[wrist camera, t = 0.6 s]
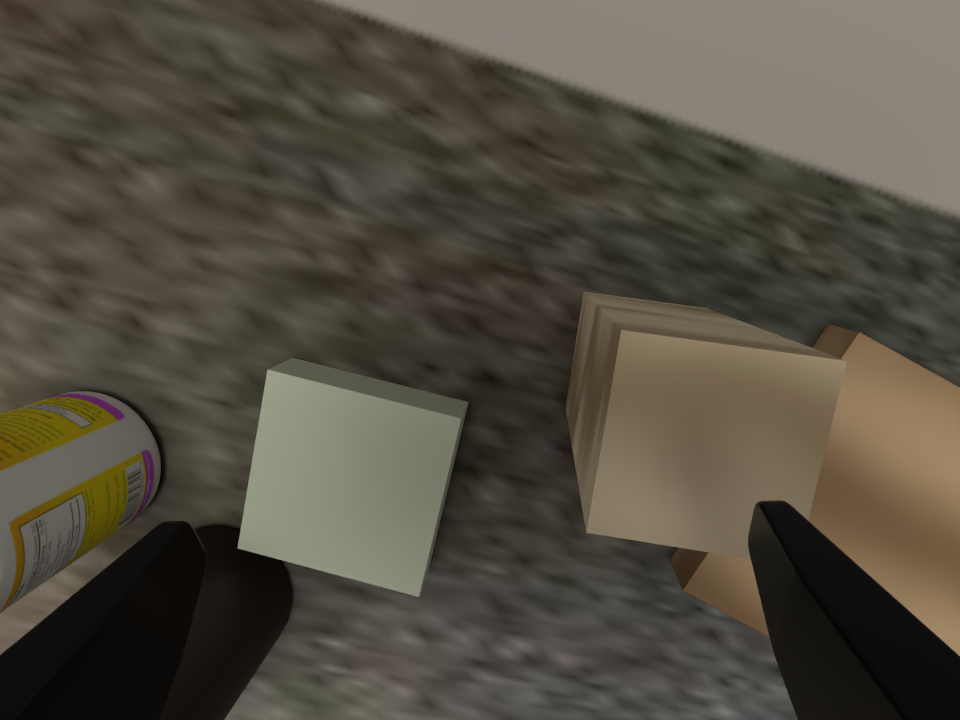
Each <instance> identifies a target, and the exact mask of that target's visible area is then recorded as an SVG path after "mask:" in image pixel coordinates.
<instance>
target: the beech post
mask: <svg viewBox="0 0 960 720" xmlns="http://www.w3.org/2000/svg"><path fill="white" fill-rule="evenodd" d="M846 364H847V361H846V360H843V359H840V358H838V357H835V356H832V355H830V354H827V353H824V352H822V351H819V350H816V349H814V348H811V347H808V346H806V345H803V344H800V343H798V342H795V341H792V340H790V339H787V338H784V337H782V336H779V335H777V334H774V333H771V332H769V331H766V330H763V329H761V328H758V327H755V326H753V325H750V324H747V323H745V322H742V321H739V320H737V319H734V318H731V317H729V316H726V315H723V314H721V313H718V312H716V311H713V310H710V309H708V308H703V307H696V306H688V305H681V304H673V303H666V302H658V301H651V300H644V299H636V298H629V297H621V296H614V295H606V294H599V293H591V292H584V293H583V299H582V306H581V312H580V318H579V325H578V331H577V337H576V344H575V350H574V356H573V362H572V369H571V375H570V381H569V388H568V394H567V400H566V407H565V408H566V414H567V420H568V426H569V432H570V438H571V444H572V450H573V456H574V462H575V468H576V474H577V480H578V486H579V492H580V498H581V504H582V510H583V516H584V522H585V528H586V533H591V534H597V535H603V536H609V537H616V538H622V539H628V540H635V541H641V542H647V543H653V544H660V545H666V546H672V547H679V548H685V549H691V550H697V551H704V552H710V553H716V554H722V555H729V556H735V557H741V558H748V559H751V558H750V554H749V549H748V534H749V529H750V525H751V520H752V515H753V510H754V507H755V505H756V503H757V502H759V501H773V500H782V501H785V502H787V503H789V504H790V505H791V506H793V507H794V508H795V509H796V510H797V511H798V512H799V513H800V514H801V515H803V516H804V517H805V518H806V519H807V520H808V519H809V515H810V511H811V507H812V503H813V499H814V495H815V491H816V487H817V483H818V479H819V474H820V470H821V466H822V462H823V458H824V454H825V450H826V446H827V442H828V438H829V433H830V429H831V425H832V421H833V417H834V413H835V409H836V405H837V401H838V397H839V392H840V388H841V384H842V380H843V376H844V372H845V368H846Z"/></svg>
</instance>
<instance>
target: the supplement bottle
mask: <svg viewBox="0 0 960 720" xmlns="http://www.w3.org/2000/svg"><path fill="white" fill-rule="evenodd" d="M160 474H161V461H160V454H159V449H158V446H157V443H156V441H155V439H154V436H153V435H152V433H151V431H150V429H149V428H148V426H147V425H146V423H145V422H144V421H143V420H142V419H141V417H140V416H139V415H138V414H137V413H136V412H135V411H134V410H132V409H131V408H130V407H129V406H127V405H126V404H124V403H122V402H121V401H119V400H117V399H115V398H113V397H110V396H108V395H105V394H101V393H96V392H89V391H77V392H68V393H63V394H60V395H57V396H53V397H50V398H47V399H44V400H41V401H38V402H34V403H31V404H28V405H25V406H22V407H19V408H16V409H13V410H10V411H7V412H4V413H0V613H1V612H2V611H4V610H5V609H7V608H8V607H9V606H11V605H12V604H14V603H15V602H16V601H18V600H19V599H21V598H22V597H24V596H25V595H27V594H28V593H30V592H31V591H32V590H34V589H35V588H37V587H38V586H39V585H41V584H42V583H44V582H46V581H47V580H48V579H50V578H51V577H53V576H54V575H55V574H57V573H59V572H60V571H61V570H63V569H64V568H66V567H67V566H69V565H70V564H71V563H73V562H74V561H76V560H77V559H79V558H80V557H81V556H83V555H84V554H86V553H87V552H89V551H90V550H92V549H93V548H95V547H96V546H97V545H99V544H100V543H102V542H103V541H105V540H106V539H107V538H109V537H110V536H112V535H113V534H115V533H116V532H118V531H119V530H120V529H122V528H123V527H124V526H126V525H127V524H129V523H130V522H131V521H132V520H134V519H135V518H136V517H137V516H139V515H140V514H141V513H142V512H143V511H144V510H145V509H146V508H147V506H148V505H149V503H150V502H151V501H152V499H153V497H154V495H155V493H156V491H157V488H158V485H159V481H160Z"/></svg>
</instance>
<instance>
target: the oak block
mask: <svg viewBox="0 0 960 720" xmlns="http://www.w3.org/2000/svg"><path fill="white" fill-rule="evenodd" d="M812 348H814V349H816V350H819V351H822V352H824V353H827V354H830V355H832V356H835V357H838V358H840V359H843V360H846V361H847V364H846V368H845V372H844V376H843V380H842V384H841V388H840V392H839V397H838V401H837V405H836V409H835V413H834V417H833V421H832V425H831V429H830V433H829V438H828V442H827V446H826V450H825V454H824V458H823V462H822V466H821V470H820V474H819V479H818V483H817V487H816V491H815V495H814V499H813V503H812V507H811V511H810V515H809V519H808V521H809V522H810V523H812V524H813V525H814V526H815V527H816V528H817V529H818V530H819V531H821V532H822V533H823V534H824V535H825V536H826V537H827V538H828V539H829V540H831V541H832V542H833V543H834V544H835V545H836V546H837V547H838V548H840V549H841V550H842V551H843V552H844V553H845V554H846V555H847V556H848V557H850V558H851V559H852V560H853V561H854V562H855V563H856V564H857V565H859V566H860V567H861V568H862V569H863V570H864V571H865V572H866V573H868V574H869V575H870V576H871V577H872V578H873V579H874V580H875V581H876V582H878V583H879V584H880V585H881V586H882V587H883V588H884V589H885V590H887V591H888V592H889V593H890V594H891V595H892V596H893V597H894V598H895V599H897V600H898V601H899V602H900V603H901V604H902V605H903V606H904V607H906V608H907V609H908V610H909V611H910V612H911V613H912V614H913V615H915V616H916V617H917V618H918V619H919V620H920V621H921V622H922V623H923V624H925V625H926V626H927V627H928V628H929V629H930V630H931V631H932V632H934V633H935V634H936V635H937V636H938V637H939V638H940V639H941V640H942V641H944V642H945V643H946V644H947V645H948V646H949V647H950V648H951V649H953V650H954V651H955V652H956V653H957V654H958V655H959V656H960V387H958V386H956V385H954V384H952V383H951V382H949V381H947V380H945V379H943V378H941V377H940V376H938V375H936V374H934V373H932V372H931V371H929V370H927V369H925V368H923V367H922V366H920V365H918V364H916V363H914V362H912V361H911V360H909V359H907V358H905V357H903V356H902V355H900V354H898V353H896V352H894V351H892V350H891V349H889V348H887V347H885V346H883V345H882V344H880V343H878V342H876V341H874V340H873V339H871V338H869V337H867V336H865V335H863V334H862V333H860V332H857V331H853V330H849V329H846V328H842V327H838V326H835V325H831V324H828V325H827V327H826V328H825V330H824V331H823V333H822V334H821V335H820V337H819V338H818V340H817V341H816V343H815V344H814V346H813V347H812ZM670 561H671V563H672V566H673V568H674V570H675V573H676V575H677V577H678V580H679V582H680V585H681V587H682V589H683V591H685V592H687V593H689V594H691V595H692V596H694V597H696V598H698V599H700V600H702V601H703V602H705V603H707V604H709V605H711V606H713V607H714V608H716V609H718V610H720V611H722V612H723V613H725V614H727V615H729V616H731V617H733V618H734V619H736V620H738V621H740V622H742V623H744V624H745V625H747V626H749V627H751V628H753V629H755V630H756V631H758V632H760V633H762V634H764V635H766V636H767V637H769V633H768V629H767V625H766V620H765V616H764V612H763V608H762V604H761V600H760V596H759V591H758V587H757V583H756V579H755V575H754V571H753V566H752V562H751V559H748V558H741V557H735V556H729V555H722V554H716V553H710V552H704V551H697V550H691V549H685V548H679V547H678V549H677V550H676V552H675V553H674V555H673V556H672V558H671V559H670ZM769 638H770V637H769Z"/></svg>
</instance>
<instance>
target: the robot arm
mask: <svg viewBox="0 0 960 720" xmlns="http://www.w3.org/2000/svg"><path fill="white" fill-rule="evenodd" d="M748 549H749V554H750V558H751V562H752V566H753V571H754V575H755V579H756V583H757V587H758V591H759V596H760V600H761V604H762V608H763V612H764V616H765V620H766V625H767V629H768V633H769V637H770V641H771V644H772V648H773V651H774V654H775V657H776V660H777V663H778V666H779V669H780V672H781V675H782V677H783V680H784V683H785V686H786V688H787V691H788V694H789V697H790V699H791V702H792V705H793V708H794V710H795V713H796V716H797V719H798V720H960V656H959V655H958V654H957V653H956V652H955V651H954V650H953V649H951V648H950V647H949V646H948V645H947V644H946V643H945V642H944V641H942V640H941V639H940V638H939V637H938V636H937V635H936V634H935V633H934V632H932V631H931V630H930V629H929V628H928V627H927V626H926V625H925V624H923V623H922V622H921V621H920V620H919V619H918V618H917V617H916V616H915V615H913V614H912V613H911V612H910V611H909V610H908V609H907V608H906V607H904V606H903V605H902V604H901V603H900V602H899V601H898V600H897V599H895V598H894V597H893V596H892V595H891V594H890V593H889V592H888V591H887V590H885V589H884V588H883V587H882V586H881V585H880V584H879V583H878V582H876V581H875V580H874V579H873V578H872V577H871V576H870V575H869V574H868V573H866V572H865V571H864V570H863V569H862V568H861V567H860V566H859V565H857V564H856V563H855V562H854V561H853V560H852V559H851V558H850V557H848V556H847V555H846V554H845V553H844V552H843V551H842V550H841V549H840V548H838V547H837V546H836V545H835V544H834V543H833V542H832V541H831V540H829V539H828V538H827V537H826V536H825V535H824V534H823V533H822V532H821V531H819V530H818V529H817V528H816V527H815V526H814V525H813V524H812V523H810V522H809V521H808V520H807V519H806V518H805V517H804V516H803V515H801V514H800V513H799V512H798V511H797V510H796V509H795V508H794V507H793V506H791V505H790V504H789V503H787V502H785V501H782V500H773V501H759V502H757V503H756V505H755V507H754V510H753V515H752V520H751V525H750V529H749V534H748ZM206 567H207V555H206V551H205V549H204V547H203V545H202V543H201V542H200V540H199V538H198V536H197V534H196V532H195V531H194V529H193V527H192V525H191V524H190V523H188V522H187V521H168V522H163V523H161V524H159V525H158V526H156V527H155V528H154V529H153V530H151V531H150V532H149V533H148V534H146V535H145V536H144V537H143V538H142V539H140V540H139V541H138V542H137V543H136V544H134V545H133V546H132V547H131V548H130V549H128V550H127V551H126V552H125V553H123V554H122V555H121V556H120V557H119V558H117V559H116V560H115V561H114V562H113V563H111V564H110V565H109V566H108V567H106V568H105V569H104V570H103V571H102V572H100V573H99V574H98V575H97V576H96V577H94V578H93V579H92V580H91V581H89V582H88V583H87V584H86V585H85V586H83V587H82V588H81V589H80V590H79V591H77V592H76V593H75V594H74V595H72V596H71V597H70V598H69V599H68V600H66V601H65V602H64V603H63V604H62V605H60V606H59V607H58V608H57V609H56V610H54V611H53V612H52V613H51V614H49V615H48V616H47V617H46V618H45V619H43V620H42V621H41V622H40V623H39V624H37V625H36V626H35V627H34V628H32V629H31V630H30V631H29V632H28V633H26V634H25V635H24V636H23V637H22V638H20V639H19V640H18V641H17V642H15V643H14V644H13V645H12V646H11V647H9V648H8V649H7V650H6V651H5V652H3V653H2V654H1V655H0V720H160V719H161V716H162V713H163V711H164V708H165V705H166V703H167V700H168V697H169V694H170V692H171V689H172V686H173V684H174V681H175V678H176V675H177V673H178V670H179V667H180V664H181V661H182V658H183V655H184V652H185V648H186V645H187V641H188V637H189V634H190V630H191V626H192V622H193V618H194V614H195V610H196V606H197V602H198V599H199V595H200V591H201V587H202V583H203V579H204V575H205V571H206Z"/></svg>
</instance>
